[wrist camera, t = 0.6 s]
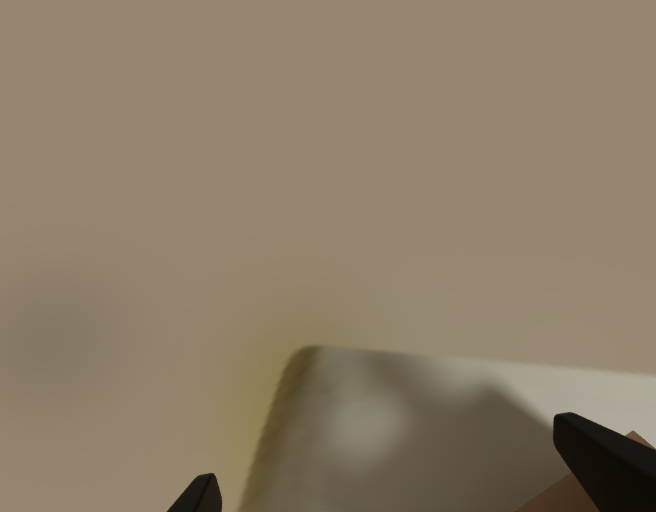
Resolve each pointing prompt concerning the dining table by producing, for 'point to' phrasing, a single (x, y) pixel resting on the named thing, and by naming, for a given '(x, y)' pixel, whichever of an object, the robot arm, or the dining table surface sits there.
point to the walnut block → (568, 493)
